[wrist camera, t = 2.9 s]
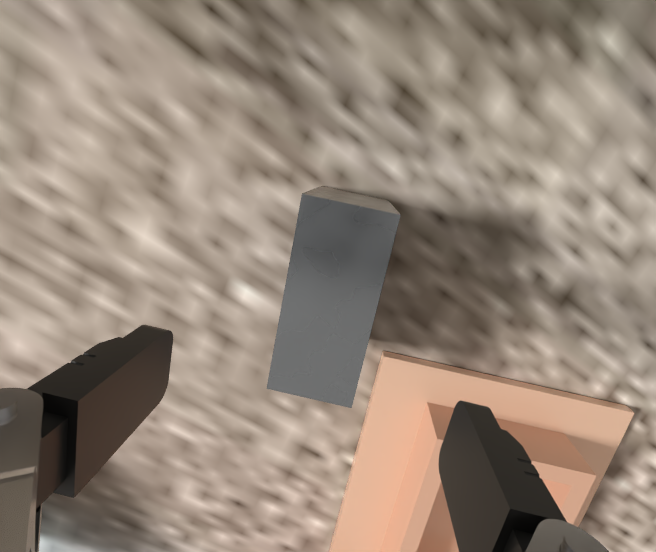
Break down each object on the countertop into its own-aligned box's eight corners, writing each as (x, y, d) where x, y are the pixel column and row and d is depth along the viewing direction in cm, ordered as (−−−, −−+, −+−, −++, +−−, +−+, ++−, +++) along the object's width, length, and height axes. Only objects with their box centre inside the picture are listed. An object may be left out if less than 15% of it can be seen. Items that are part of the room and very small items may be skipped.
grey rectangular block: (322, 186, 23) (302, 193, 16) (387, 200, 23) (400, 214, 15) (295, 323, 26) (266, 388, 18) (354, 336, 26) (351, 407, 18)
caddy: (322, 573, 31) (316, 637, 27) (382, 350, 26) (387, 386, 21) (521, 622, 31) (547, 694, 26) (626, 405, 25) (679, 453, 21)
